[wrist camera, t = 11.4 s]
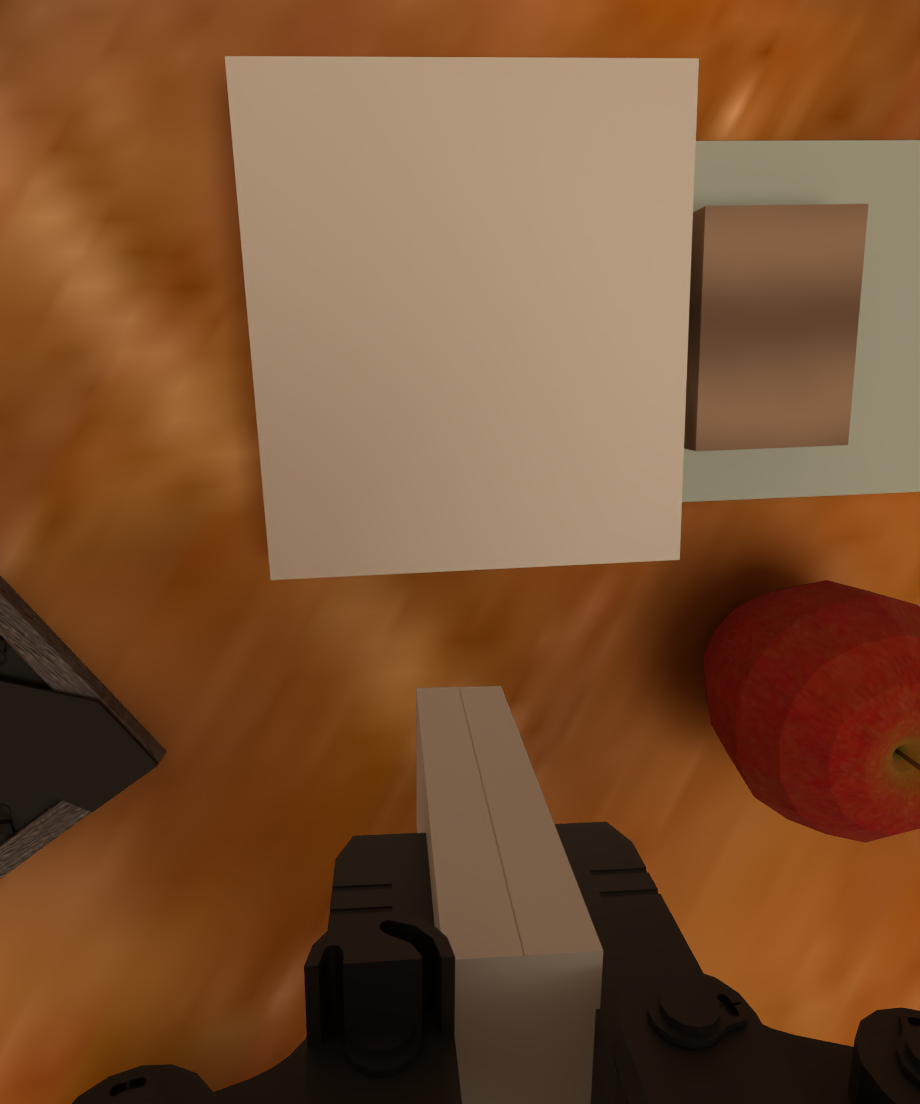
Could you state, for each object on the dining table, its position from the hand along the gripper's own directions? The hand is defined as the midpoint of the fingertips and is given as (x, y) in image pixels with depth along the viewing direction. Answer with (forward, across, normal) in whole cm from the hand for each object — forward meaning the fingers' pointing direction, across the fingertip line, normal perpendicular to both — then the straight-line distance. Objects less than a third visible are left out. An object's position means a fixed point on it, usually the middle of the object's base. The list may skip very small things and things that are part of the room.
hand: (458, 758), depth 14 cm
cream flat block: (+24, -2, -9) cm, 25 cm away
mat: (+24, -19, -10) cm, 32 cm away
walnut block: (+23, -16, -9) cm, 29 cm away
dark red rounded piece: (+24, -18, +7) cm, 31 cm away
